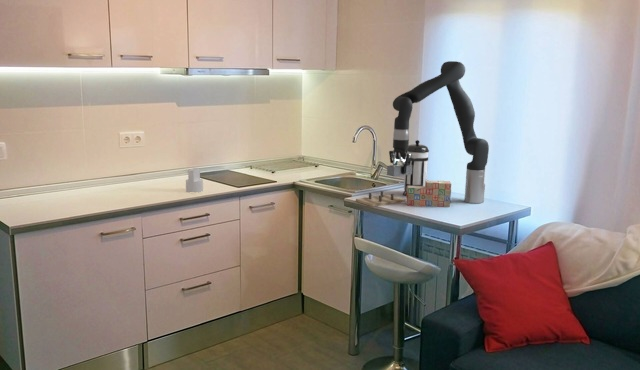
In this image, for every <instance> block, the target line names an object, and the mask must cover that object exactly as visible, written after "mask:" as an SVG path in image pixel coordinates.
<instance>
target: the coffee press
mask: <svg viewBox="0 0 640 370" xmlns="http://www.w3.org/2000/svg"><path fill="white" fill-rule="evenodd" d="M407 152H408V153H409V154H412V158H411V162H410V165H412V174H410V175H404V180H403V182H404V183H403V190H404V191H403V192H402V195H403V196H406V197H407V186H425V180H427V178H428V161H429V152H430V150H429V148H428V146H426V145H425V144H420V140H419V139H417V140H415V144H409V147H408V149H407Z"/></svg>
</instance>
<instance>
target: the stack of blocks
mask: <svg viewBox="0 0 640 370" xmlns="http://www.w3.org/2000/svg"><path fill="white" fill-rule="evenodd" d="M406 193H407V195H406V202H405V203H406V205H407V206H413V207H417V206H418V207H437V208H438V207H439V208H450V207H451V196H452V183H451V181H449V180H448V181H445V180H425V186H407V192H406Z"/></svg>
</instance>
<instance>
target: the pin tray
mask: <svg viewBox="0 0 640 370" xmlns="http://www.w3.org/2000/svg"><path fill="white" fill-rule="evenodd" d="M372 194H373V193H372V192H368V196H367V197H360V198H359V197H358V198H355V202H357V201H358V202H357V203H359V204H364V205H367V206H370V207H379V206H385V205H386V206H387V205H393V204H399V203H406V201H407V198H401V197H398V196H395V195H394V194H395V193H390V194H384V191H383V190H380V195H374V196H372Z"/></svg>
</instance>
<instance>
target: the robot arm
mask: <svg viewBox="0 0 640 370" xmlns="http://www.w3.org/2000/svg"><path fill="white" fill-rule="evenodd" d="M440 67H441V68H440V74H439V75H437V76H435V77H432V78H430V79H427V80H424V81H423V82H421V83H420V84H418V85H417V86H414V87H413V88H412V89H411V90H408V91H406V92H404V93H401V94H400V95H398V96H396V97H395V98H394V100H393V101H392V107H393V109H394V110H395V111H397V112H398V113H397V117H395V118H394V125H393V138H392V139H393V140H392V148H393V150H389V151H388V153H389V163H391V164H392V165H399V162H400V164H402V174H406V167H407V166H408V165H410V162H411V158H412V154H409V153H408V152H407V149H408V147H409V145H410V144H409V143H410V119H411V115H412V111H413V104H417V103H420V102H421V101H423V100H425V99H426V98H428V97H429V96H431V95H432V94H434V93H435V92H437V91H438V90H440V89H443V88H444V87H446V90H447V92H448V95H449V98H450V101H451V104H452V106H453V111H454V113H455V116H456V117H455V118H456V119H457V122H458V126H459V128H460V132H461V136H462V141H463V145H464V150H465V151H466V153H467V154H468V155H471V156H472V159H471V161H470V162H467V163H466V170H465V171H466V173H465V175H466V176H465V188H464V202H466V203H470V204H482V203H484V201H485V191H486V188H485V187H486V184H485V177H486V176H485V172H486V166H487V164H488V161H489V158H488V157H489V149H490V145H489V143H488V141H487V140H486V139H485V138H479V137H477V135H476V132H475V129H474V124H475V123H474V122H475V118H476V112H475V108H474V106H473V105H474V104H473V103H472V100H471V98H470V97H469V96H468V94H467V93H466V91H465V90H464V88H463V86H462V85H461V82H460V80H461V79H462V78H463V77H464V76H465V74H466V66H465V64H463V63H462V62H461V61H457V60H456V61H450V60H449V61H444V62H443V64H442V65H441V66H440Z"/></svg>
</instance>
